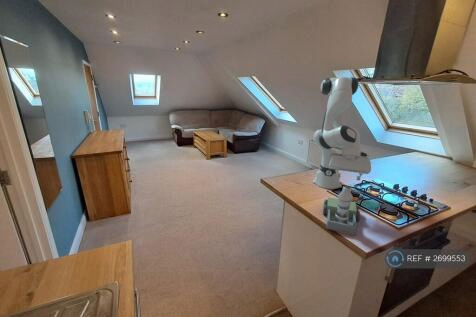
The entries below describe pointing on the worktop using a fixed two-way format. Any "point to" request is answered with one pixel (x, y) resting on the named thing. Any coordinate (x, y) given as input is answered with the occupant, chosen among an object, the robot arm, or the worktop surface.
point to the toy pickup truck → (348, 228)
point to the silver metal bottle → (343, 205)
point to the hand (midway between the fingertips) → (348, 178)
